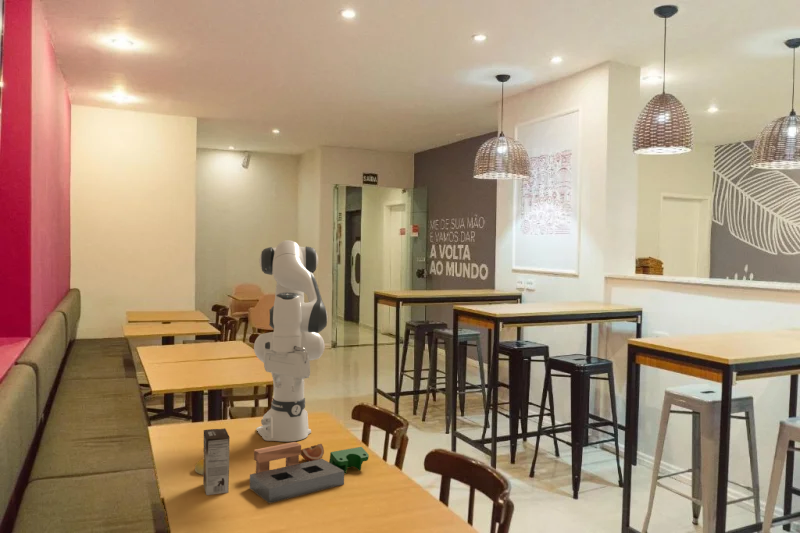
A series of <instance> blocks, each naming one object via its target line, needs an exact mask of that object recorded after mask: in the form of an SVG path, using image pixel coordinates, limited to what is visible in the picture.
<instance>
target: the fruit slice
mask: <svg viewBox="0 0 800 533" xmlns="http://www.w3.org/2000/svg"><path fill="white" fill-rule="evenodd" d="M324 454H325V450H324V446H323V443H318V444H317V445H316V444H315V445H312V446H310V447H305V448H301V455H300V456H301V457H302V458H303V459H304V460H305V461H306V462H309V461H314V460H318V459H323V456H324Z"/></svg>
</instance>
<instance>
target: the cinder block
mask: <svg viewBox="0 0 800 533" xmlns="http://www.w3.org/2000/svg"><path fill="white" fill-rule="evenodd" d="M344 484H345V473H344V471H343V470H342V469H340V468H338V467H336V466H334V465H333V464H331V463H329V461H327V460H325V459H324V458H321V459H318V460H314V461H306V462H305V461H304V462H299V464H296V465H291V466H286V465H285V466H283V467H278V468H274V469H269V470H268V471H264V472H259V473H256V472H255V473H252V474H251V473H250V474H249V489H250V490H251V491H253V492H254V493H255V494H257V495H258V496H259V497H261V498H262V499H263V500H265V502H267V503H268V504H272V503H276V502H281V501H284V500H288V499H291V498H297V497H300V496H304V495H308V494H311V493H315V492H319V491H323V490H327V489H331V488H335V487H336V488H337V487H339V486H342V485H344Z"/></svg>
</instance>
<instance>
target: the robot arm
mask: <svg viewBox="0 0 800 533" xmlns="http://www.w3.org/2000/svg"><path fill="white" fill-rule="evenodd" d="M258 260H259V261H258V262H259V267H260V269H261V272H263V273H264V274H265V275H271V276H273V279H274V280H275V282H276V284H275V292H274V294H275V295H274V302H273V306H272V307H271V308H270V309H269V325H268V326H269V327H271V328H272V329H273V331H271V332H270V331H269V332H266V333H262V334H259V335H258V336H257V337H256V339H255V341H254V344H253V352H254V353H255V354H254V355H255V356H256V358H257V359H258V360H259V361H261V362H262V363H263V366H264V367H263V368H264V370H265V372H267V373H271V377H272V382H273V398H271V406H270V409H268V410H267V412H266V413H264V414H263V417H262V418H261V421H260V422H261V423H260V424H261V425H260V426H258V427H256V428H255V431H256V430H257V431H258V432H257V431H256V432H257V434H259V435H260V436H262V437H261V438H262V439H263V441H268V442H269V441H270V442H272V441H273V442H274V441H275V442H286V443H289V442H296V441H301V440H304V439H307V437H308V436H309V435H310V434H311V433H312V429H311V428H309V417H308V416H309V414H308V411H307V410H306V409H305V408H306V398H305V379H309V378H310V375H311V362H310V361H314V360H319V359H320V358H321V357H322V356H323V354H324V352H325V348H326V346H325V340H324V338H323V336H322V335H321V334H320V332H322V331H323V330H324V329H326V327H327V324H328V319H329V317H328V311H327V309H326V306H325V303H324V302H323V299H322V295H321V292H320V288H319V285H318V282H317V278H316V277H315V274H314V273H315V272H316V271H317V267H318V265H319V255H318V253H317V250H316V249H315V248H314V247H311V246H300V245H299V244H298V242H296V241H294V240H288V239H286V240H282V241H281V242H279V243H278V244H277V245H276V247H273V246H270V247H266V248H264V249H262V250H261V253H260V256H259V258H258ZM305 295H306V297H307V300H308V302H305Z"/></svg>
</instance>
